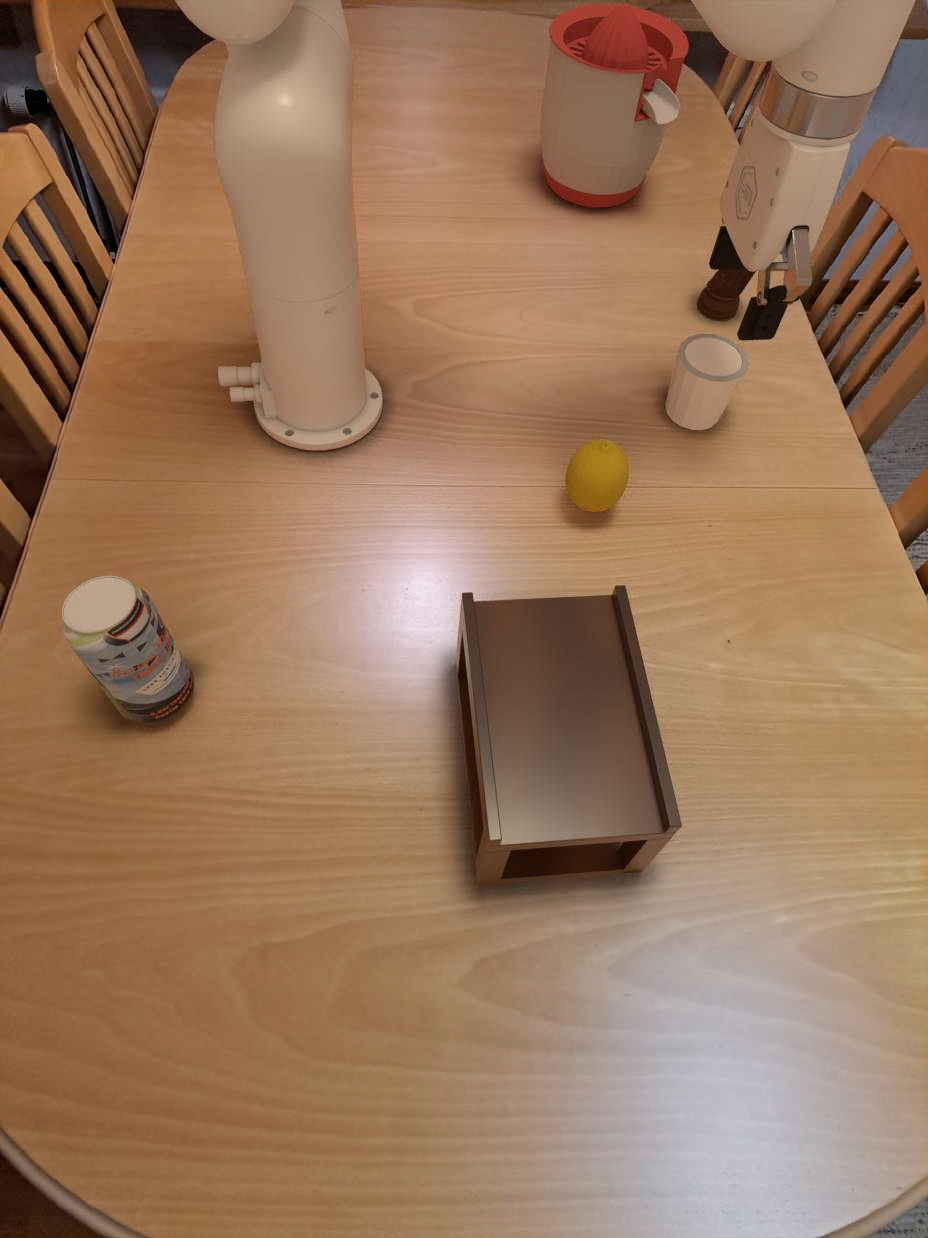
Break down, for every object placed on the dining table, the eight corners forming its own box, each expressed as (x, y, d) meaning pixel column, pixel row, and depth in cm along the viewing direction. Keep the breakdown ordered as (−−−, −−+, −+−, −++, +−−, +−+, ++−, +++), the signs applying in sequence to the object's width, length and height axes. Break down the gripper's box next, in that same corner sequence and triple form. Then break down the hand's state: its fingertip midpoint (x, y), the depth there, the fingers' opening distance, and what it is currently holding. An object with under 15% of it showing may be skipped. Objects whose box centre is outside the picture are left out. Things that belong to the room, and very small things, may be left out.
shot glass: (724, 440, 83) (748, 386, 77) (656, 427, 83) (675, 373, 78) (726, 393, 87) (750, 339, 81) (661, 381, 87) (680, 326, 81)
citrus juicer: (598, 242, 99) (637, 59, 83) (505, 173, 106) (523, -9, 89) (686, 200, 105) (739, 21, 88) (593, 138, 112) (625, -40, 95)
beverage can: (160, 745, 63) (111, 669, 52) (88, 697, 64) (28, 615, 54) (215, 683, 66) (179, 601, 55) (146, 639, 67) (99, 551, 57)
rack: (477, 885, 58) (489, 841, 50) (455, 662, 68) (461, 592, 59) (642, 871, 60) (682, 826, 51) (598, 654, 69) (625, 584, 60)
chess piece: (699, 290, 96) (728, 208, 87) (743, 301, 95) (775, 219, 87) (693, 315, 93) (721, 233, 85) (738, 326, 93) (771, 244, 84)
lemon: (579, 536, 76) (595, 477, 69) (548, 494, 78) (561, 433, 71) (629, 516, 77) (650, 457, 70) (597, 475, 80) (615, 414, 73)
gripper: (733, 40, 64) (676, 243, 78) (802, 166, 55) (723, 369, 69) (826, 40, 64) (753, 241, 79) (910, 164, 55) (809, 366, 70)
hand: (739, 301), depth 74 cm, fingers open, 9 cm apart
